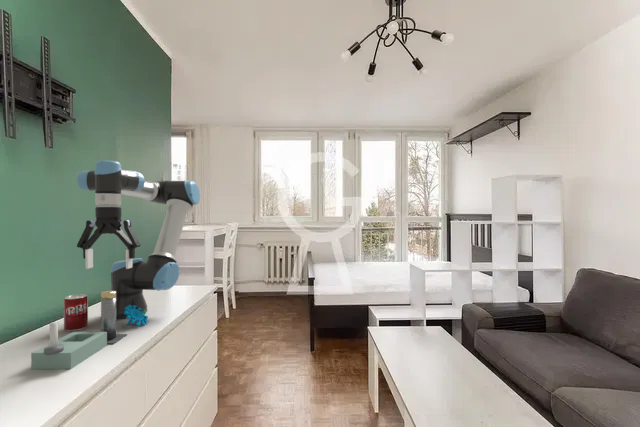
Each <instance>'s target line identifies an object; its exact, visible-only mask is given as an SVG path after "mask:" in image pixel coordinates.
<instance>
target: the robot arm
mask: <svg viewBox="0 0 640 427" xmlns="http://www.w3.org/2000/svg"><path fill="white" fill-rule="evenodd" d="M76 183H77V186H78V187H79V188H80V189H81V190H82V191H90V192H95V194H94V195H95V196H94V197H95V198H94V199H95V201H94V202H95V203H94V204H95V206H96V207H95V210H94V211H95V218H96V219H95V220H93V219H92V220H90V219H89V220H86V222H85V228H84V230H83V232H82V234H81V236H80V238H79V239H78V242H77V244H76V248H80V249H82V257H83V259H85V260H84V261H85V269H86V270H89V269H92V268H94V249H93V248H92V247H93V245H95V243H96V242H97V240H99V238H100V237H101V236H102V235H103V234H104V235H105V234H111V235H112V234H114V235H115V236H117V238H118V239H119V240H120V241H121V242H122V243H123V244H124V246H125V247H126V249H125V259H124V260H118V261H115V262H113V263H112V265H111V271H110V276H111V278H110V281H111V289H110V291H111V290H114V291H116V320H117V319H127V318H126V316H128V315H125V314H124V312H125V311H126V310H124V309H125V308H126V307H127V306H128V305H131V306H133V305H135V306H137V307H136V308H135V309H138V308H139V307H140V308H141V309H142V310H141V312H143V311H144V310H146V311H147V312H148V304H147V301H146V298H145V296H144V293H143V292H144V290H147V291H157V292H158V291H167V290H170V289H171V288H173V287H174V286H175V285H176V283H177V282H178V280H179V277H180V276H179V275H180V268H179V267H180V266H179V265H178V263H177V262H178V261H177V260H176V258H175V256H176V253H177V250H178V246H179V242H180V239H181V235H182V232H183V228H184V225H185V222H186V218H187V216H188V213H189V212H190V211H192V209H193V206H196V205H198V204H199V203H200V201H201V194H200V189H199V186H198V184H197V183H196V182H195V181H193V180H186V179H185V180H158V181H157V180H156V181H155V180H145V177H144V175H143V174H142V173H141V172H139V171H135V170H131V169H129V170H127V169H124V168H123V169H122V163H120V162H119V161H115V160H106V159H105V160H104V159H103V160H97V161H96V162H95V163H94V170H91V169H89V170H83V171H82V170H81V171H80V172H79V173H78V174H77V178H76ZM122 195H123V196H130V197H135V198H141V199H142V200H143V201H147V202H151V203H157V204H161V205H166V206H167V207H168V208H167V211H166V214H165V217H164V221H163V223H162V225H161V229H160V233H159V236H158V238H157V241H156V244H155V247H154V250H153V253H150V254H149V255H148V257H147V259H146V261H144V260H143V258H141V257H139V258H137V257H136V255H135V254H136V252H135V250H136V248H139V247H141V245H142V244H141V242H140V240H139V238H138V236H137V235H136V233H135V231H134V229H133V226H132V222H131V220H129V219H128V220H122V207H121V205H122ZM95 227H96V229H94V228H95ZM121 227H123V228H124V230H123V229H122V228H121ZM124 231H125V232H124ZM92 233H93V234H92ZM125 233H126V234H125ZM135 257H136V258H135ZM131 308H132V307H131ZM132 309H133V308H132Z"/></svg>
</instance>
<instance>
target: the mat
mask: <svg viewBox="0 0 640 427" xmlns="http://www.w3.org/2000/svg"><path fill="white" fill-rule="evenodd" d="M127 336H128V334H127V333H116V338H115V339H113V340H109V341H107V345H115V344H116V343H118V342H119V341H120V340H123V337H124V338H125V337H127ZM117 341H118V342H117Z"/></svg>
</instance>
